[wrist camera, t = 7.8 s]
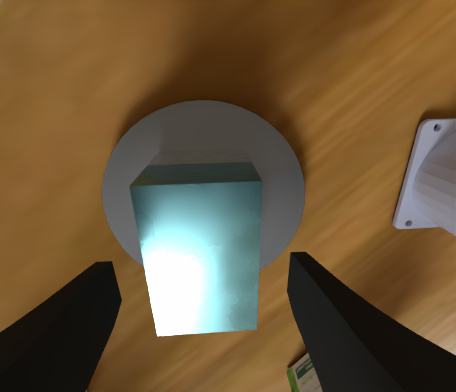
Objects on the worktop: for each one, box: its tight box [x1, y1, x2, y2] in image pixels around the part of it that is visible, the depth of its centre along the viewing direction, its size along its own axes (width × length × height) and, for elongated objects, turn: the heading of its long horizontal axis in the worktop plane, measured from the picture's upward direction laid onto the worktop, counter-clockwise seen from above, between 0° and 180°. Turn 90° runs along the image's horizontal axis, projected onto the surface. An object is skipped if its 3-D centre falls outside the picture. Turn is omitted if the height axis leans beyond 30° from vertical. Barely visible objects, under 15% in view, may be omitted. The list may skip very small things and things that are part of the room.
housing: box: [129, 148, 262, 336], centre depth 14 cm, size 8×5×6 cm, turn 1°
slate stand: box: [102, 100, 305, 270], centre depth 17 cm, size 13×13×2 cm
